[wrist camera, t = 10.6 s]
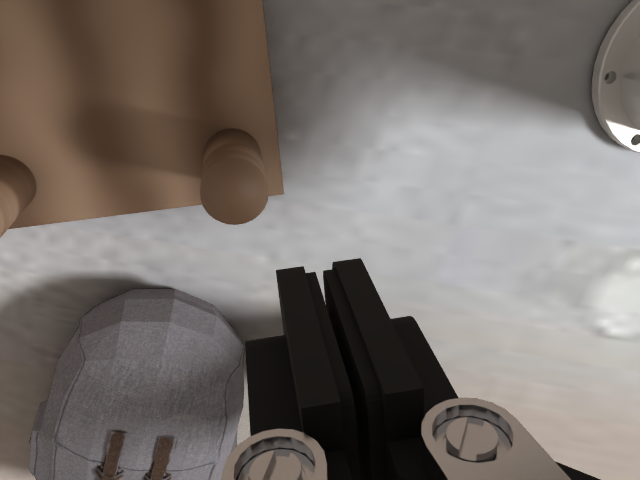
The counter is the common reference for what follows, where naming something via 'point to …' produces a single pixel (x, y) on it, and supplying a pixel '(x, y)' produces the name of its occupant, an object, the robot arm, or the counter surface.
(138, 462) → the small grey backpack
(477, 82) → the counter surface
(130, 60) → the wooden peg stand
